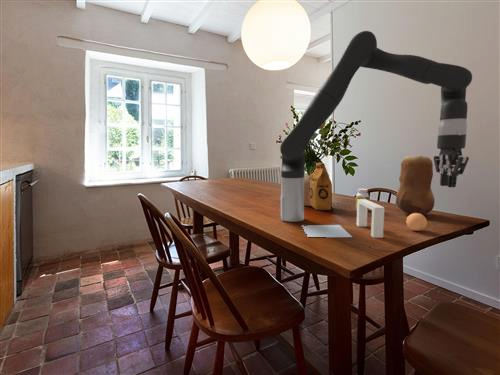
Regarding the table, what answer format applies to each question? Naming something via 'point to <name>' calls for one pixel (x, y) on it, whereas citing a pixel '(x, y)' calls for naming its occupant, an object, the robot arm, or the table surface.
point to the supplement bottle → (362, 195)
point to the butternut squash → (415, 185)
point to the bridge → (377, 217)
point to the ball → (416, 221)
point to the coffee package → (320, 188)
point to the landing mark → (325, 231)
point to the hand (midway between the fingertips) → (447, 186)
